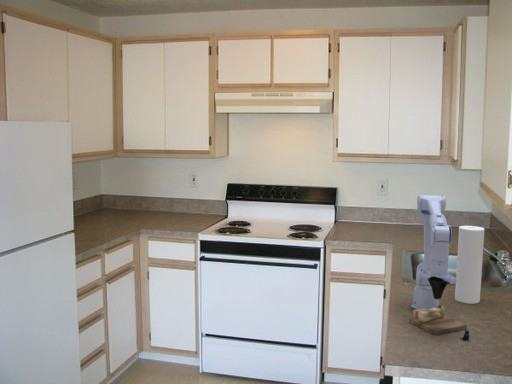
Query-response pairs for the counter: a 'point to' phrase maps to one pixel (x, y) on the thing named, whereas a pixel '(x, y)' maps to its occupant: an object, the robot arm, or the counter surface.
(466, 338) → the sculpture
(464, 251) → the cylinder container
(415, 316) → the block
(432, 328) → the board
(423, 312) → the hinged leg
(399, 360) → the counter surface
